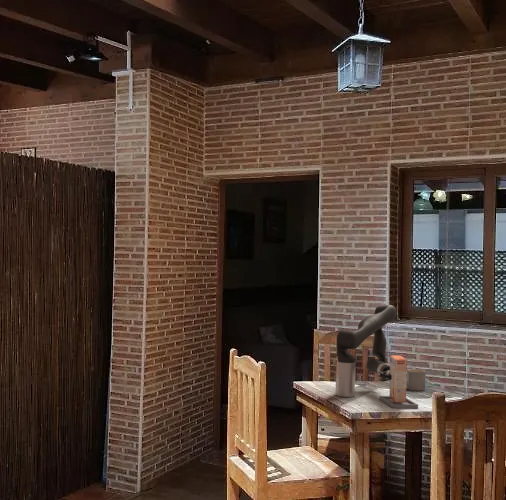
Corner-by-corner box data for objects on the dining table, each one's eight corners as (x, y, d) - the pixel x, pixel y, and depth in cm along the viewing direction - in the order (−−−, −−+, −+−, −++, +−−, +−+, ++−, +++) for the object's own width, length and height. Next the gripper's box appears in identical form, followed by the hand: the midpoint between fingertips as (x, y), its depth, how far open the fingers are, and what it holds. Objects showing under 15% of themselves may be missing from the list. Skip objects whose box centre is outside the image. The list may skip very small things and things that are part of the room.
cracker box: (406, 403, 320) (407, 359, 320) (394, 402, 320) (394, 359, 320) (401, 396, 334) (401, 354, 334) (389, 396, 334) (389, 354, 334)
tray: (392, 408, 316) (392, 404, 316) (379, 399, 336) (379, 396, 336) (418, 408, 318) (418, 404, 318) (403, 399, 337) (403, 396, 337)
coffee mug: (423, 387, 374) (424, 369, 374) (426, 390, 364) (426, 372, 364) (399, 386, 375) (400, 368, 376) (401, 389, 366) (401, 371, 366)
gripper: (373, 364, 344) (384, 370, 328) (400, 364, 346) (412, 370, 330) (373, 378, 344) (383, 385, 328) (399, 378, 346) (411, 385, 330)
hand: (397, 377), depth 329 cm, fingers closed on cracker box, 6 cm apart
